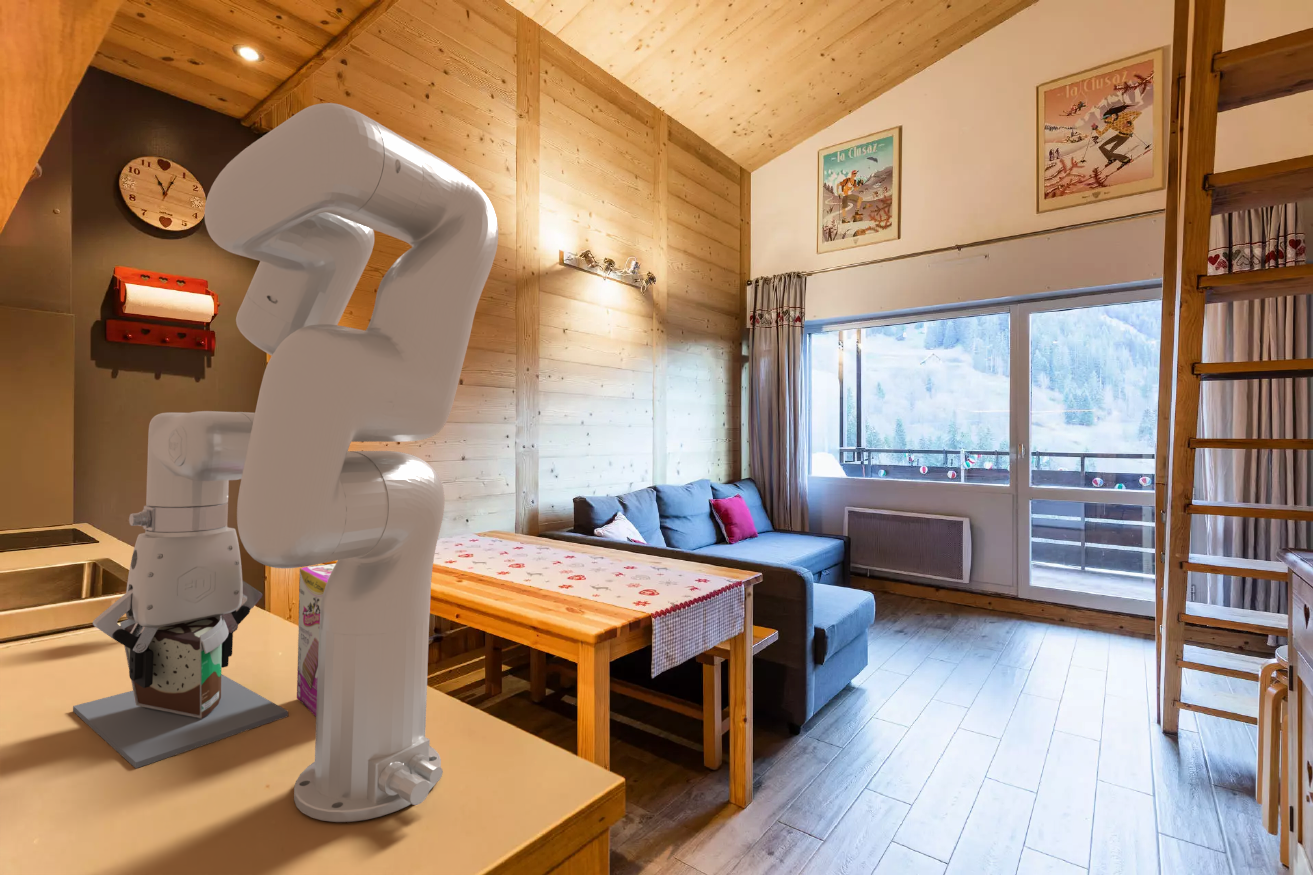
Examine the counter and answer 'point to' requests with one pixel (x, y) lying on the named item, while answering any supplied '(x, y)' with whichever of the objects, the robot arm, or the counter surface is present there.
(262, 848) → the counter surface
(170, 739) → the mat
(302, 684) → the candy bar box
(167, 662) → the food container
